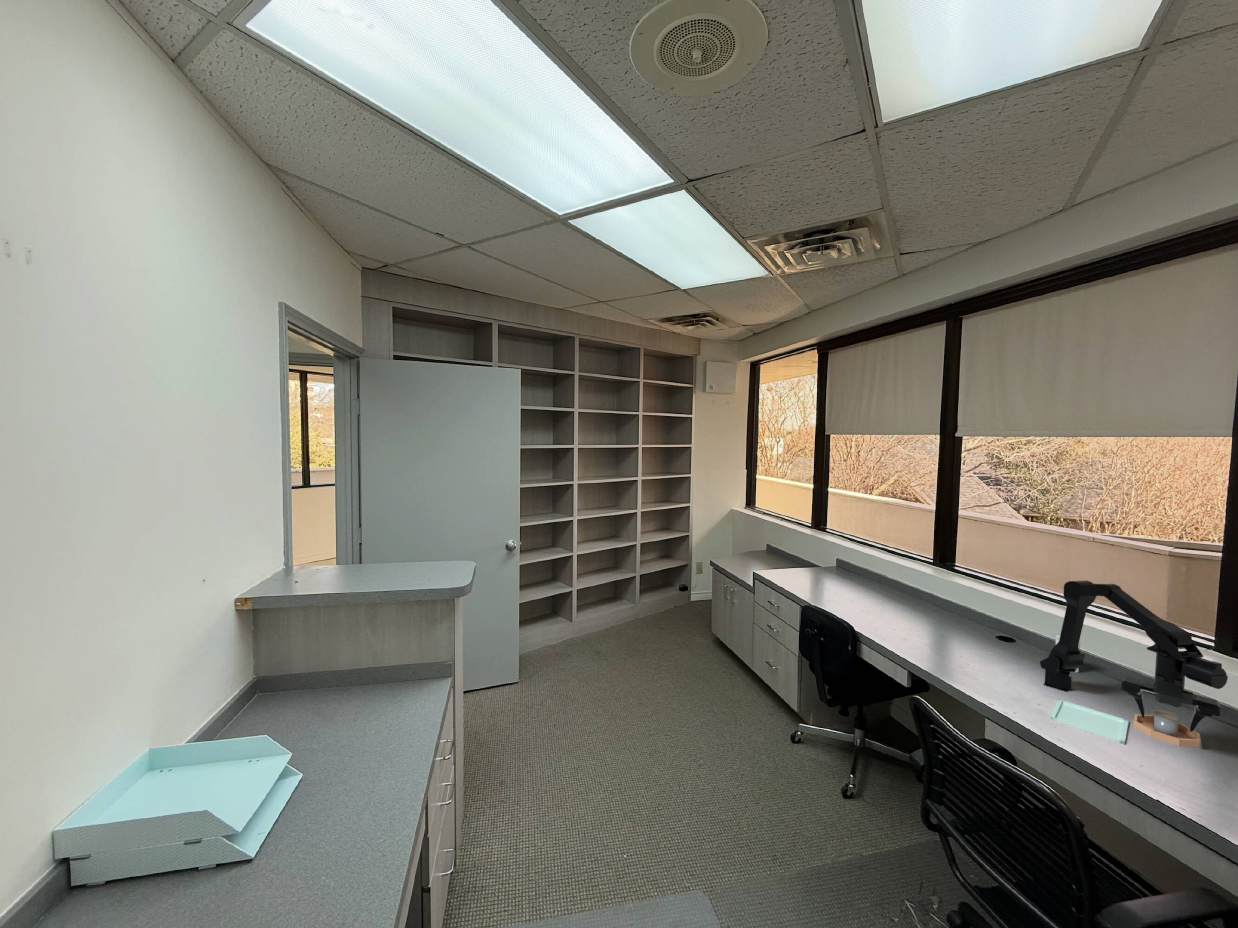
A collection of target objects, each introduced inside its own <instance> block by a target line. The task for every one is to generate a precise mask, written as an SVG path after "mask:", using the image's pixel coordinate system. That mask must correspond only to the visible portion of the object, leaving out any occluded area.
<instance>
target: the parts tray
mask: <svg viewBox="0 0 1238 928" xmlns="http://www.w3.org/2000/svg"><path fill="white" fill-rule="evenodd" d="M1049 720H1050V721H1052V722H1056V723H1059V724H1061V725H1064V726H1068V727H1071V728H1074V729H1076V730H1079V731H1083V732H1085V733H1089V734H1091V735H1094V736H1098V737H1101V738H1104V739H1107V740H1110V741H1113V742H1116V743H1119V744H1122V745H1125V744H1126V739H1127V735H1128V734H1127V733H1128V728H1129V721H1130V720H1128V719H1125V718H1122V717H1119V716H1116V715H1113V714H1108V713H1106V712H1102V711H1099V710H1097V709H1092V708H1090V707H1087V706H1083V705H1079V704H1077V703H1074V702H1070V701H1066V700H1064V699H1060V698H1058V699H1057V701H1056V703H1055V705H1054V708H1053V710H1052V712H1051V714H1050V716H1049Z"/></svg>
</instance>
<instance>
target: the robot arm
mask: <svg viewBox="0 0 1238 928" xmlns="http://www.w3.org/2000/svg"><path fill="white" fill-rule="evenodd" d="M1097 597H1104V598H1105V599H1107V600H1108V601H1110V602H1111V603H1112V604H1113V605H1115V607H1117V608H1119V610H1121V611H1122V612H1123V613H1125V615H1127V616H1128V617H1130V618H1131V619H1132V620H1133V621H1135V622H1136V623H1137V624H1139V625H1140V626H1141V627H1142V628H1143V629H1144V632H1145V634H1146V636H1147V637H1148V638H1149V640H1151V641H1152V642H1153V645H1151V646H1147V647H1146V650H1147V651H1151V652H1153V653H1155V654H1156V655H1155V666H1154V667H1155V670H1154V681H1153V687H1152V686H1149V685H1145V684H1142V680H1141V679H1137V678H1132V677H1129V676H1124V677H1122V680H1121V686H1120V687H1121V688H1120V689H1121V690H1122V691H1123V692H1127V694H1128V695H1129V696H1132V698H1134V701H1135V703H1136V704H1137V707H1138V709H1139V712H1140V715H1142V717H1143V718H1144V715H1146V713H1145V712H1146V711H1145V704H1144V700H1145V699H1144V693H1148V694H1151V695H1155V701H1156V702H1158V703H1161V704H1166V705H1169V706H1172V707H1174V708H1182V704H1183V705H1186V706H1187V705H1189V706H1194V709H1193V712H1192V715H1191V721H1190V723H1189V728H1190V732H1193V730H1194V731H1195V729H1196V727H1197V726H1198V724H1199V723H1200V722H1201V721H1202V719H1204V718H1206V717H1208V718H1213V716H1214V717H1221V704H1220V702H1219V701H1218V700H1217V699H1215V698H1210V697H1205V696H1202V695H1197V698H1195V697H1194V692H1192V691H1189V690H1185V681H1186V678H1187V679H1189V680H1192V681H1194V682H1197V683H1199V684H1203V685H1204V686H1208V687H1210V688H1214V689H1217V690H1220V689H1222V688H1224V687H1225V686H1226V685H1227V683H1228V678H1229V676H1228V675H1227V672H1226V670H1225V669H1224V668H1223V663H1221V662H1218V661H1213V660H1208V659H1206V658H1204V655H1203V653H1202V652H1201V651H1200V649H1199V648H1198V646H1197V645H1196V644H1195V642H1194V641H1193V639H1192V638H1193V637H1192V635H1191V634H1190V633H1189V632H1188V631H1187V630H1185V629H1184V628H1182V627H1180V626H1178V625H1176V624H1175V623H1173V622H1170V621H1167V620H1165V619H1163V618H1161V617H1159V616H1157V615H1156V614H1155V613H1153V612H1152V611H1151V610H1149V608H1147V607H1146V606H1144V605H1143V604H1142V603H1140V601H1139V602H1138V601H1137V600H1136V599H1135V598H1133V596H1131V595H1129V594H1128V593H1127V592H1126V591H1124V590H1123V589H1122V587H1120V585H1118V584H1115V583H1094V582H1092V581H1090V580H1072V581H1071V580H1069V581H1067V582H1065V583H1064V585H1063V598H1064V600H1065V602H1066V607H1065V613H1064V617H1063V622H1062V626H1061V631H1060V639H1059V642H1058V643H1057V644H1056V643H1055V645H1054V646H1053V647H1052V648H1051V650H1050V652H1049V654H1048V657H1046V658H1044V659H1041V660H1040V661H1039V664H1040V668H1041V669H1044V670H1045V671H1044V682H1043V686H1046V687H1048V688H1052V689H1055V690H1059V691H1062V692H1066V693H1069V692H1070V691H1072V689H1073V676H1072V675H1071V673H1073V672H1075V671H1076V669H1077V668H1081V666H1084V660H1085V657H1086V655H1085V653H1082V652H1081V649H1080V650H1079V648H1078V644H1079V642H1080V639H1081V635H1082V631H1083V627H1084V622H1085V617H1086V613H1087V609H1088V608H1089V607H1091V605H1092V604H1093V603H1094V602H1095V601H1096V598H1097Z"/></svg>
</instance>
